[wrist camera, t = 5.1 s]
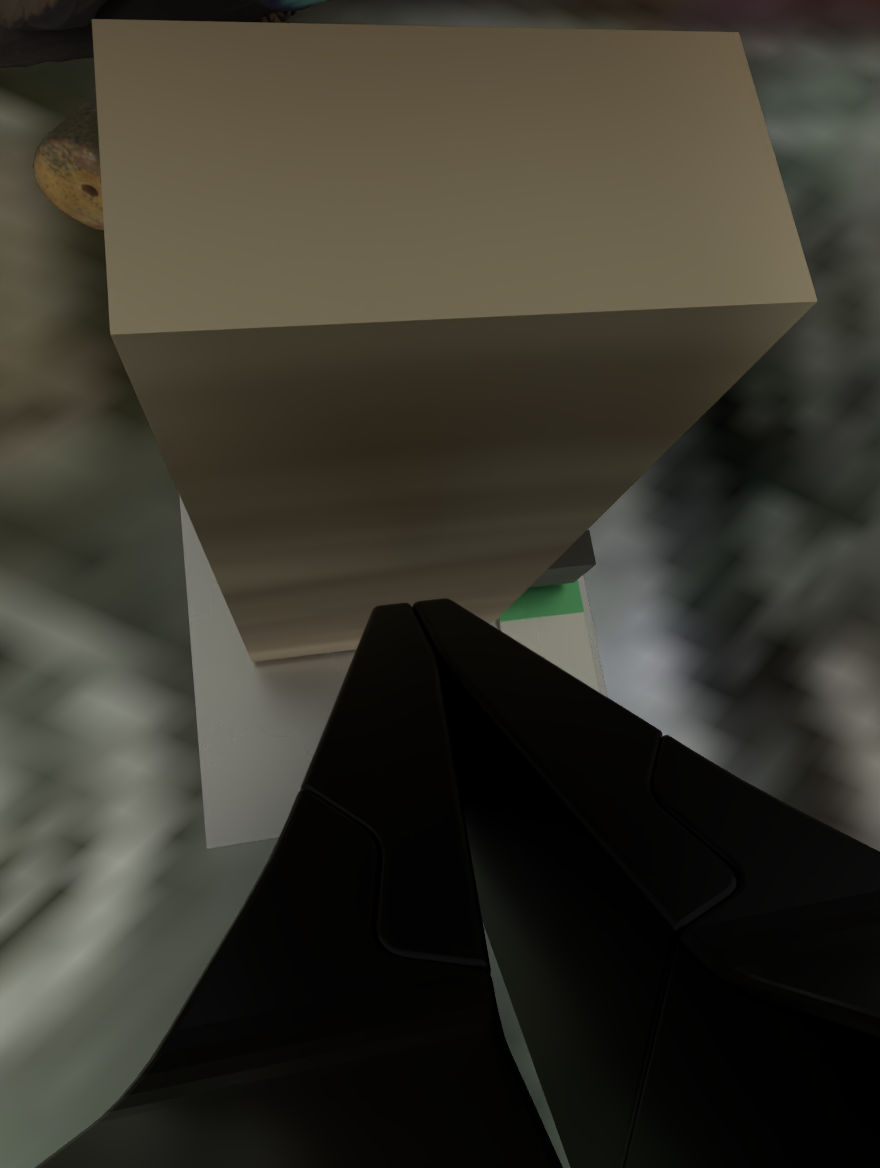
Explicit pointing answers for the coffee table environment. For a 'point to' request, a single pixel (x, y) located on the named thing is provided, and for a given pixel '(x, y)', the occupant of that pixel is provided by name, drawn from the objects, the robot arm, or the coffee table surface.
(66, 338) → the coffee table surface
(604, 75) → the light brown wooden block
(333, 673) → the gauge base
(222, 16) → the bird figurine
